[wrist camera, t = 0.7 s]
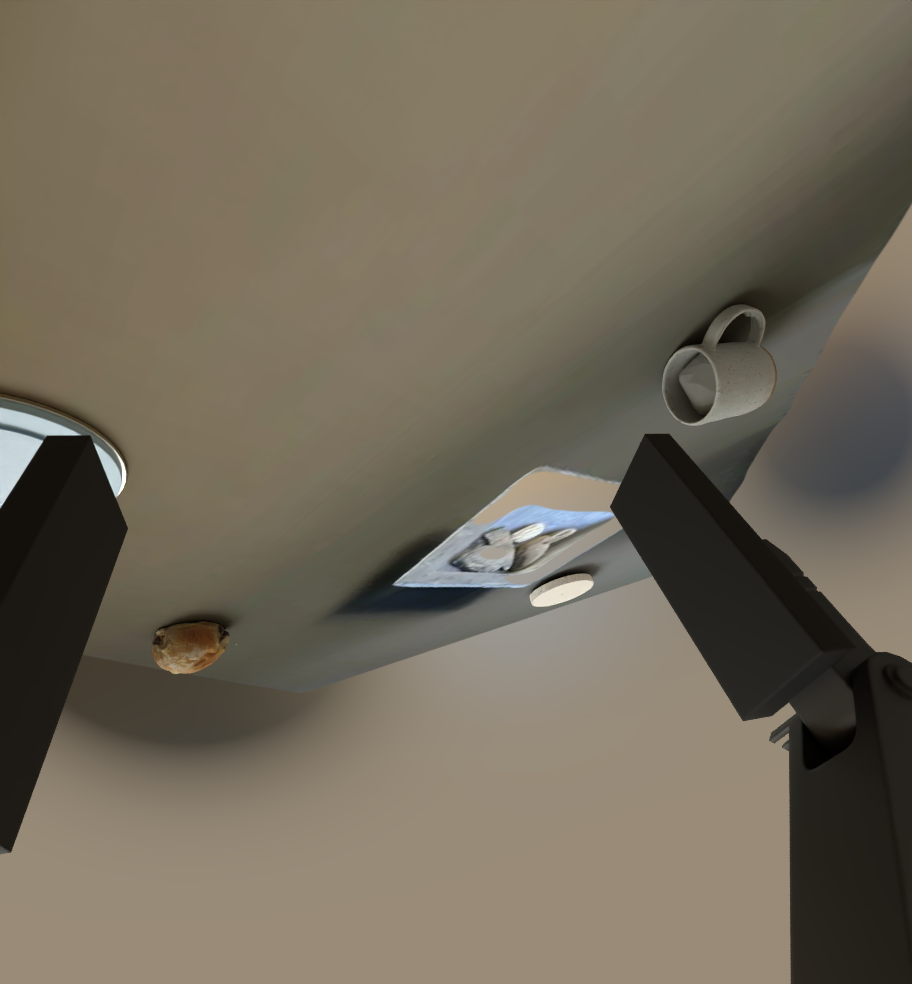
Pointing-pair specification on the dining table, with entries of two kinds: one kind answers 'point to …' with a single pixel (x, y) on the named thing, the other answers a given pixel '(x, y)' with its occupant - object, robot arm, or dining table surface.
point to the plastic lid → (561, 590)
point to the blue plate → (23, 427)
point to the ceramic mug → (720, 373)
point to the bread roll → (189, 646)
